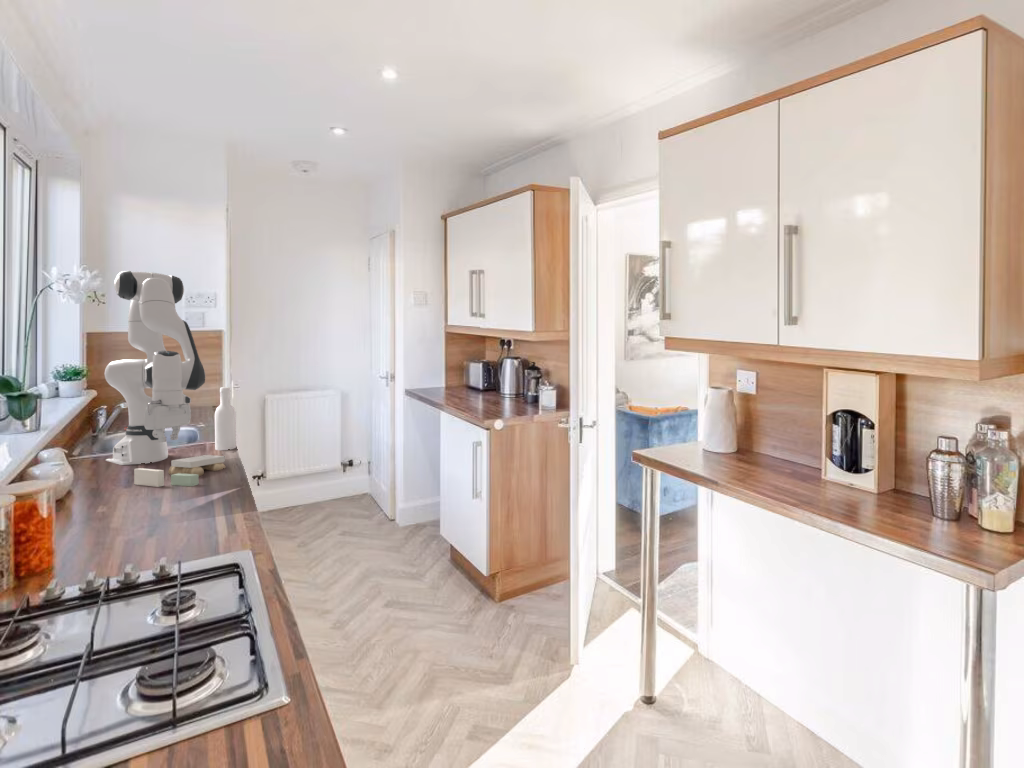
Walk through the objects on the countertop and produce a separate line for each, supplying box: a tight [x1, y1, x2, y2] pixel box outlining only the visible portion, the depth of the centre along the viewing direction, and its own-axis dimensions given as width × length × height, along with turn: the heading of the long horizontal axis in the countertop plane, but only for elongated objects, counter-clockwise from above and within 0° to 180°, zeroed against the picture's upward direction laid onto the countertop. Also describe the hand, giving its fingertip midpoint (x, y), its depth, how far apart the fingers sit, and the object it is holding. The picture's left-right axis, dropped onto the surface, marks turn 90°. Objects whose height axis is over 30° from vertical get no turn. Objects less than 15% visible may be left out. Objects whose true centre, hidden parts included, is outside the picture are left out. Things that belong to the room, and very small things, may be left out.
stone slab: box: [170, 454, 226, 468], centre depth 206 cm, size 9×14×2 cm, turn 158°
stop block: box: [133, 467, 165, 488], centre depth 189 cm, size 11×2×5 cm, turn 68°
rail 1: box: [167, 466, 205, 477], centre depth 201 cm, size 12×4×4 cm, turn 68°
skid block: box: [170, 473, 200, 487], centre depth 189 cm, size 8×3×4 cm, turn 75°
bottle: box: [214, 386, 237, 451], centre depth 240 cm, size 8×8×30 cm
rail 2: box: [198, 462, 226, 472], centre depth 210 cm, size 12×4×4 cm, turn 68°
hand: (168, 441), depth 195 cm, fingers open, 5 cm apart
